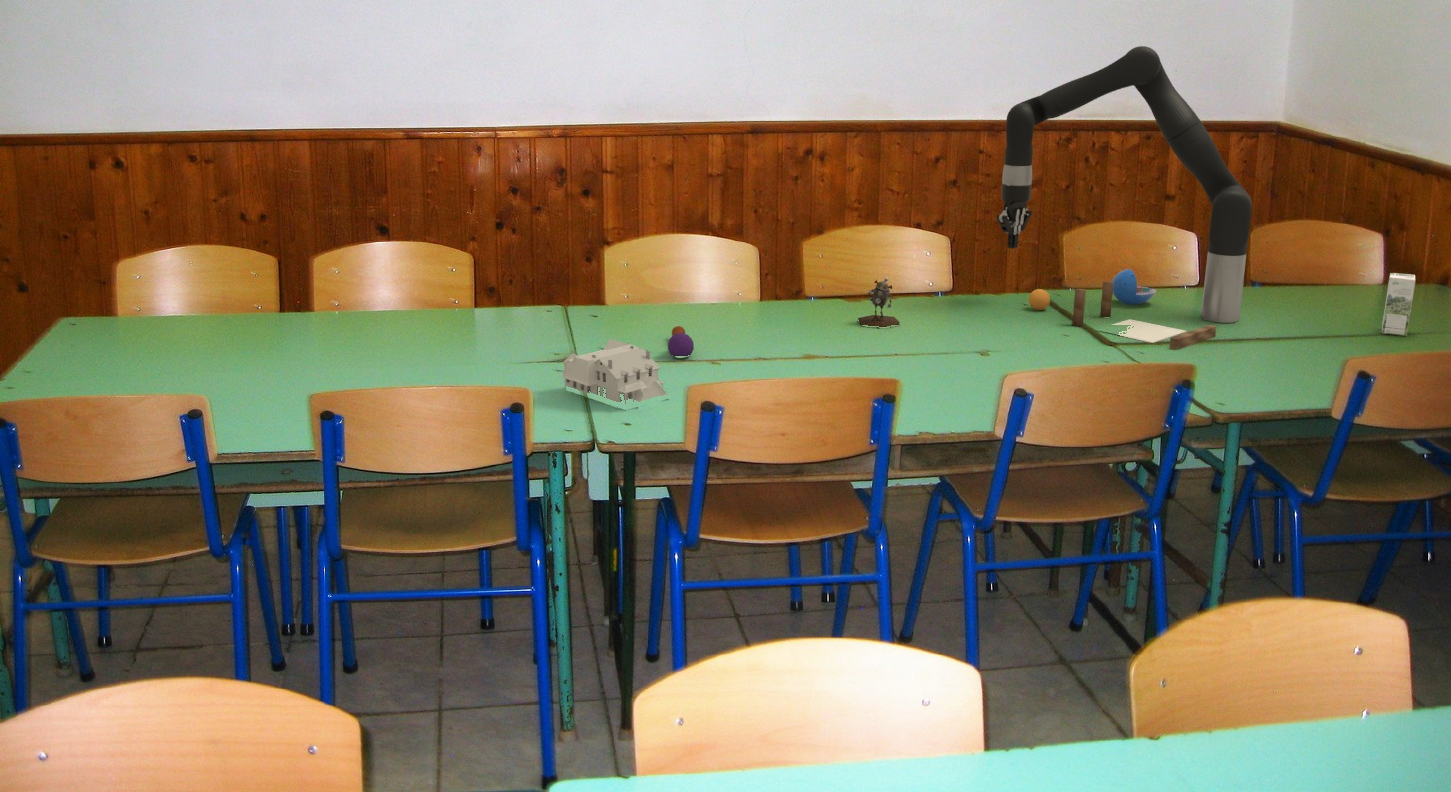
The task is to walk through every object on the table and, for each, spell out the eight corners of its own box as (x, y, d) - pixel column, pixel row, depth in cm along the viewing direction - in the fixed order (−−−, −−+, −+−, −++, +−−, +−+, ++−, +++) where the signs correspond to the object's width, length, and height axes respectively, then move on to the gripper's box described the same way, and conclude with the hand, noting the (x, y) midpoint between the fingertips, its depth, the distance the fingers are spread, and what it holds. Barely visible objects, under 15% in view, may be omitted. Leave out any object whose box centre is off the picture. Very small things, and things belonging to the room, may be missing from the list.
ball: (1035, 306, 367) (1037, 285, 365) (1053, 309, 363) (1055, 289, 362) (1023, 309, 363) (1025, 289, 362) (1041, 313, 360) (1042, 292, 358)
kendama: (692, 322, 334) (696, 337, 315) (688, 346, 335) (691, 363, 316) (668, 318, 333) (670, 333, 314) (664, 342, 335) (665, 358, 315)
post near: (1076, 323, 350) (1078, 288, 347) (1084, 325, 348) (1087, 290, 345) (1070, 324, 348) (1072, 289, 345) (1079, 326, 346) (1081, 291, 344)
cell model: (1161, 307, 366) (1165, 272, 363) (1119, 309, 364) (1122, 273, 361) (1144, 299, 376) (1147, 264, 373) (1102, 300, 374) (1105, 265, 371)
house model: (619, 415, 279) (618, 368, 276) (557, 393, 292) (555, 348, 289) (687, 395, 291) (687, 350, 288) (625, 376, 305) (624, 332, 302)
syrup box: (1406, 331, 343) (1415, 273, 339) (1406, 336, 338) (1415, 278, 334) (1381, 328, 346) (1389, 271, 341) (1381, 334, 340) (1389, 276, 336)
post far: (1103, 315, 358) (1106, 280, 355) (1112, 316, 356) (1115, 282, 354) (1098, 316, 356) (1101, 282, 354) (1106, 318, 355) (1109, 284, 352)
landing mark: (1129, 319, 353) (1129, 319, 353) (1187, 331, 342) (1187, 330, 342) (1094, 330, 343) (1094, 329, 343) (1152, 343, 332) (1152, 342, 332)
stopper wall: (1207, 334, 339) (1208, 324, 339) (1215, 336, 338) (1216, 326, 337) (1169, 348, 328) (1170, 337, 327) (1177, 349, 326) (1178, 339, 325)
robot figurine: (851, 325, 347) (852, 278, 344) (862, 317, 355) (863, 271, 352) (894, 330, 343) (896, 282, 340) (904, 321, 351) (906, 275, 348)
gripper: (1019, 177, 367) (1015, 242, 372) (989, 182, 359) (985, 249, 364) (1043, 181, 362) (1038, 246, 367) (1013, 186, 353) (1009, 253, 359)
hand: (1012, 247), depth 366 cm, fingers closed
